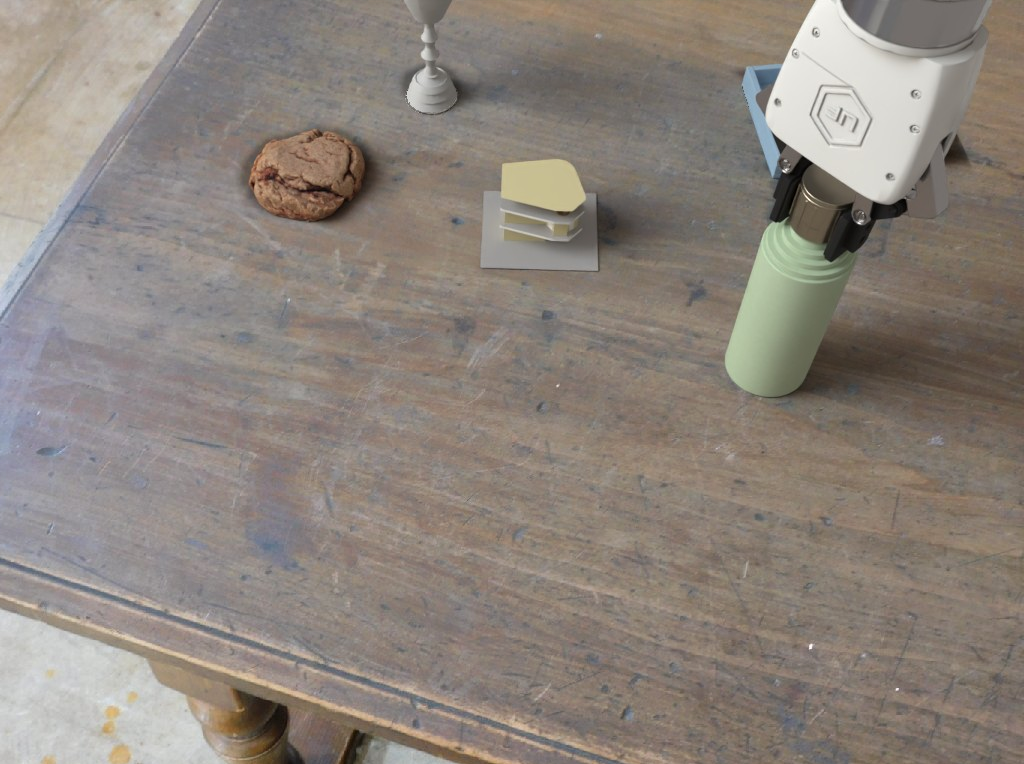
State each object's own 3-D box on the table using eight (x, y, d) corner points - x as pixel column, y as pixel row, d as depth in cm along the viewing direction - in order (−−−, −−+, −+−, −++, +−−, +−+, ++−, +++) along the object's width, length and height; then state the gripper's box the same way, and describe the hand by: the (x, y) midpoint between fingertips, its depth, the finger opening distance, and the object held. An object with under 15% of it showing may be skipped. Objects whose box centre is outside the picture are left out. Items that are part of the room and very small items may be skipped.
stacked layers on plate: (480, 268, 92) (481, 223, 87) (483, 191, 96) (484, 144, 92) (598, 271, 91) (605, 226, 87) (596, 193, 96) (603, 147, 91)
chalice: (468, 121, 101) (468, -54, 86) (395, 124, 101) (383, -51, 86) (466, 69, 105) (466, -108, 89) (396, 71, 105) (384, -105, 90)
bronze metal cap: (775, 220, 72) (789, 180, 69) (815, 190, 73) (829, 150, 70) (822, 253, 70) (838, 215, 67) (862, 222, 71) (879, 183, 68)
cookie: (388, 176, 98) (386, 151, 95) (303, 242, 94) (299, 218, 91) (313, 125, 101) (309, 100, 99) (228, 187, 98) (222, 162, 95)
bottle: (795, 327, 87) (867, 148, 70) (816, 393, 84) (896, 221, 67) (716, 335, 87) (769, 157, 71) (734, 401, 84) (794, 231, 67)
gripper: (748, -56, 59) (682, 189, 74) (1013, 102, 52) (880, 334, 68) (835, -109, 61) (754, 139, 77) (1099, 35, 54) (952, 274, 70)
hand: (814, 228), depth 72 cm, fingers closed on bronze metal cap, 3 cm apart
